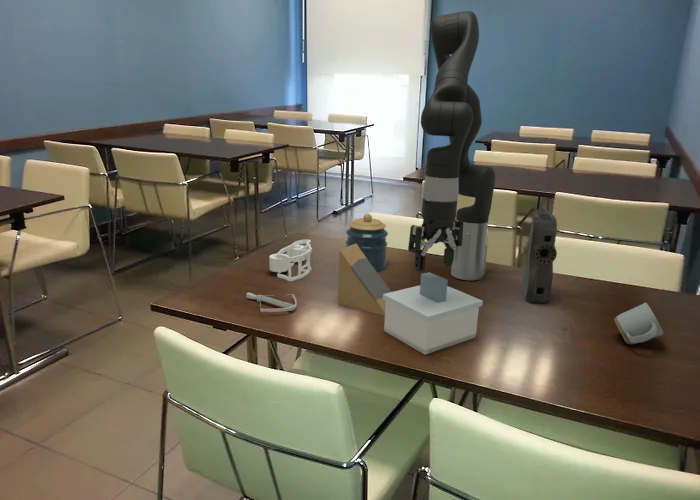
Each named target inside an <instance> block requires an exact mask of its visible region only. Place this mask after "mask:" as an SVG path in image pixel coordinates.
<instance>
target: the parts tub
mask: <svg viewBox="0 0 700 500" xmlns="http://www.w3.org/2000/svg"><path fill="white" fill-rule="evenodd" d="M479 311H480V307H477V308H473V309H470V310H467V311H463V312H460V313H456V314H453V315H450V316H446V317H443V318H440V319H436V320H433V321H429V322H427V321H425V320H423V319H421V318H419V317H417V316H415V315H413V314H411V313H409V312H407V311H405V310H403V309H401V308H399V307H397V306H395V305H393V304H392V303H390V302H388V301H386V306H385V316H384V323H383V324H384V327H383V332H385V333H387V334H388V335H391V336H392V337H394V338H396V340H399V341H400V342H402V343H404V344H406V345H407V346H408V347H409V346H410V347H411V348H412V349H415V350H416V351H418V352H419V353H421V354H423V355H424V356H425V355H426V356H427V355H428V354H431V353H435V352H437V351H441V350H443V349H446V348H450V347H452V346H455V345H458V344H461V343H463V342H467V341H469V340H470V341H471V340H472V339H476V336H477V328H478V321H479V320H478V319H479Z"/></svg>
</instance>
